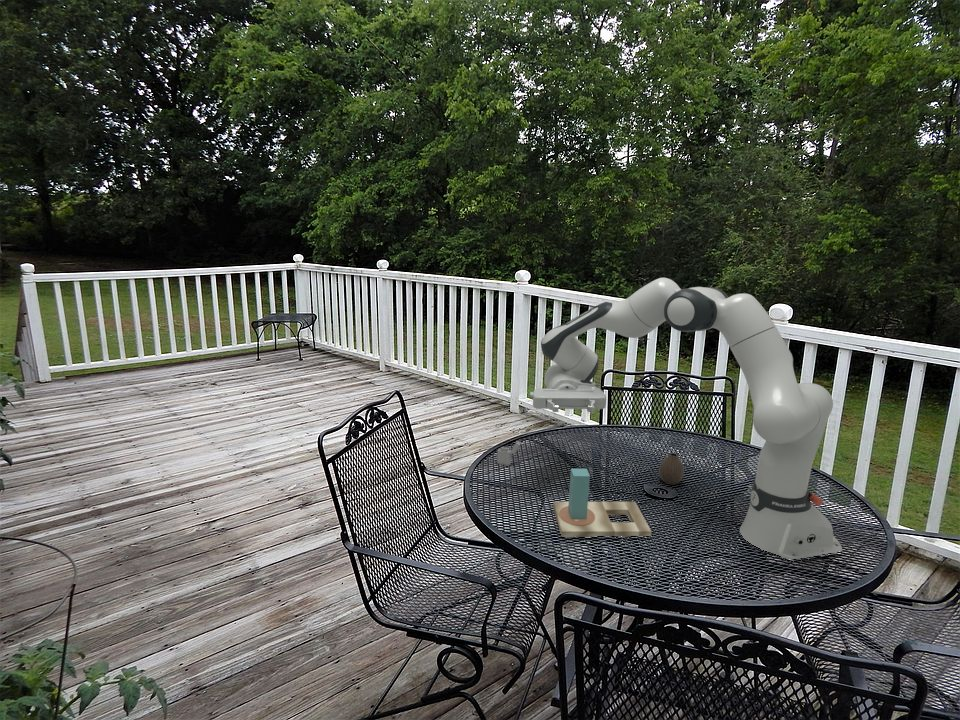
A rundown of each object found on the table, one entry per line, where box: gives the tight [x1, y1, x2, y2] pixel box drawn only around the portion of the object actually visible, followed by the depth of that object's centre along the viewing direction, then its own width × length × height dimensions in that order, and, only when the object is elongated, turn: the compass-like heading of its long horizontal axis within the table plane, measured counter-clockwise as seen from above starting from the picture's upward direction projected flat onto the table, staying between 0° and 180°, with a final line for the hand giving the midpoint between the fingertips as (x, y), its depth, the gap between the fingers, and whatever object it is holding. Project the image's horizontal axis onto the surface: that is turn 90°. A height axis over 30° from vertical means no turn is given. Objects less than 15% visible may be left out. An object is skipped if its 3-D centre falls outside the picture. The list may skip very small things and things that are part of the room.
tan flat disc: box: [559, 506, 595, 526], centre depth 146 cm, size 9×9×1 cm
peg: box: [568, 468, 591, 519], centre depth 144 cm, size 4×4×12 cm
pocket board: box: [552, 501, 652, 537], centre depth 146 cm, size 22×14×2 cm, turn 92°
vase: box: [658, 452, 685, 486], centre depth 167 cm, size 7×7×9 cm
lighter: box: [496, 440, 522, 466], centre depth 176 cm, size 7×2×8 cm, turn 72°
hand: (573, 409), depth 152 cm, fingers open, 8 cm apart
